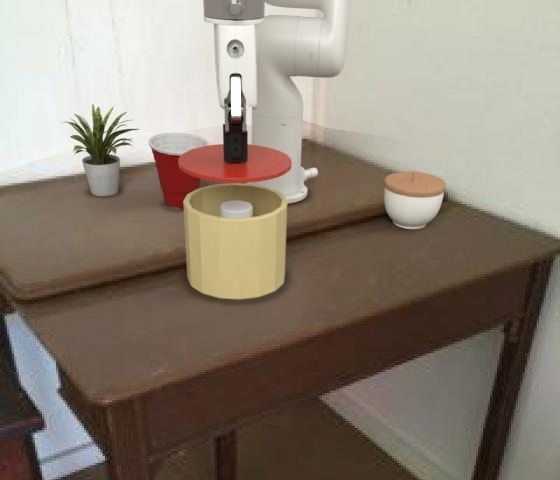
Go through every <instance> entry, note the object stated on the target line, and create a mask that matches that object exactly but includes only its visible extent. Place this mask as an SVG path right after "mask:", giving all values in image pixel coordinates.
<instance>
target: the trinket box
mask: <svg viewBox="0 0 560 480" xmlns="http://www.w3.org/2000/svg"><path fill="white" fill-rule="evenodd" d="M383 185H384V186H383V187H384V188H383V206H384V209H385V212H386V214H387V216H388V217H389V218H390V220H392V223H393V225H395V226H396V227H399V228H402V229H408V230H420V229H423V228H425V227H426V226H427V224H429V223H430V222H431V221H433V220H434V219H435V218H436V216H437V215H438V213H439V211H440V209H441V206H442V203H443V200H444V196H445V195H444V194H445V191H446V186H447V183H446V182H445V180H444V179H442V178H441V177H439V176H436V175H433V174H431V173H426V172H421V171H418V170H414V171H399V172H392V173H389V174H388V175H386V176H385V178H384V180H383Z"/></svg>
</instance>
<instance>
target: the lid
mask: <svg viewBox="0 0 560 480" xmlns="http://www.w3.org/2000/svg"><path fill="white" fill-rule="evenodd" d="M178 164H179V168H180V169H181V170H182V171H183V172H184V173H186V174H188V175H190V176H193V177H196V178H199V179H200V180H204V181H210V182H216V183H225V184H227V183H241V184H247V183H248V182H259V181H265V180H270V179H273V178H277V177H280V176H282V175H284V174H286V173H287V172H289V170H290V169H291V167H292V161H291V158H290V157H289V156H288V155H286V154H285V153H283V152H281V151H278V150H275V149H272V148H268V147H263V146H257V145H252V144H248V160H247V161H246V162H225V161H224V151H223V143H220V144H219V143H218V144H209V146H203V147H199V148H195V149H192V150H189V151H187V152H185V153H184V154H182V155H181V156H180V157H179V160H178Z"/></svg>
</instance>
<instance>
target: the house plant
mask: <svg viewBox="0 0 560 480" xmlns="http://www.w3.org/2000/svg"><path fill="white" fill-rule="evenodd" d="M91 105H92V106H91V117H92V129H91V126H90V125H89V123H88V121H87V120H86V119H85V118H84V117H82V116H81V115H78V114H76V113H74V116H75V117H76V118H77V120H78V122H79V124H78V123H77V122H76V120H74V119H73V118H70V120H71V122H70V121H67V120H65V121H64V122H63V121H62V122H61V124H63V123H66V124H68V125H70V126H71V127H72V128H73V129H74V130H75V131H77V133H78V134H80V135H78V134H72V135H70V136H69V138H71V139H73V140H75V141H78V142H79V143H81V144H83V146H82V145H77V144H76V145H74V147H73V150H72V152H74V156H75V155H76V154H78V153H82V152H86V153H88V156H85V157H83V158H82V160H81V163H82V166H83V170H84V173H85V177H86V180H87V183H88V187H89V190H90V193H91V194H92V195H93V196H98V197H110V196H113V195H116V194H117V193H119V183H120V169H121V167H120V166H121V158H120V157H119V156H117V149H118V148H119V147H123V146H131V147H133V144H131V143H133V141H132V139H131V138H127V137H124V138H123V137H122V138H118V139H116V138H117V137H119V136H120V135H122V134H125V133H128V132H131V131H139V130H140V128H125V129H124V128H123V129H120V130H118V129H119V128H120V127H123V126H126V124H122V123H126V122H131V121H132V119H127V120H126V119H125V120H122V121H121V122H120V120H121V118H122V117H123V116H125V115H126V114H127V113H128V111H125V112H123V113H120V114H119V115H118V116H117V117H116V118H115V119H114V120H113V121H112V123H111V124H110V125H109V127H108V129H107V130H106V131H105V128H106V126H107V123H108V120H109V118H110V115H111V113H112V112H113V110H114V106H112V107H111V108H110V109H109V110H108V112H107V113H106V115H105V116H104V118H103V116H102V113H101V108H100V106H97V108H96V109H95V105H94V104H91ZM80 125H81V126H82V127H81V126H80ZM104 134H105V137H104ZM115 139H116V140H115ZM128 141H129V142H128ZM118 142H119V143H118ZM130 142H131V143H130ZM110 153H111V154H110Z"/></svg>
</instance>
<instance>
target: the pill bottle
mask: <svg viewBox="0 0 560 480" xmlns="http://www.w3.org/2000/svg"><path fill="white" fill-rule="evenodd" d="M252 214H253V208H252V205H251V204H250V203H248V202H245V201H240V200H233V201H227V202H224V203H222V204H221V205H220V215H221V217H227V218H247V217H252Z"/></svg>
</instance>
